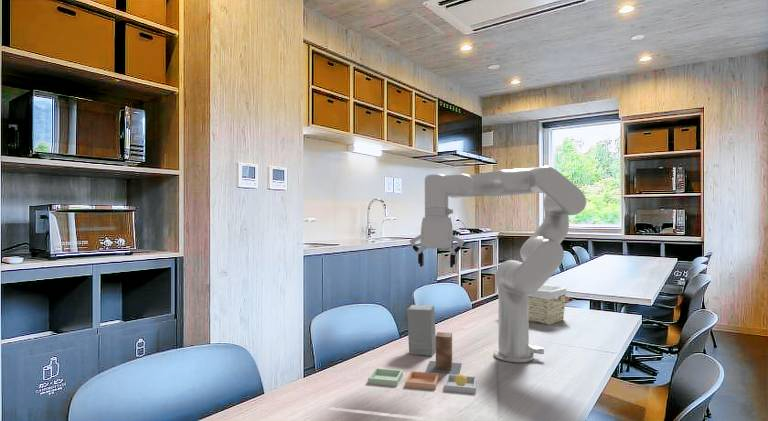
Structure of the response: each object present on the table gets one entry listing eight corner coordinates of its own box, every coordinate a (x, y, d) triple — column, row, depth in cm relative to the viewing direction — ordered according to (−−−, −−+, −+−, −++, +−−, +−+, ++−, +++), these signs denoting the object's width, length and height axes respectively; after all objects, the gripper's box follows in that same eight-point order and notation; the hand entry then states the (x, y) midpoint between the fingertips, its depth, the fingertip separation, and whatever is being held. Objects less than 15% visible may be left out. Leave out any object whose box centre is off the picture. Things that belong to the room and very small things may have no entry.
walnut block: (452, 365, 137) (452, 333, 137) (450, 370, 132) (450, 337, 132) (437, 364, 138) (437, 332, 138) (435, 369, 133) (435, 336, 133)
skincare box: (436, 351, 153) (436, 304, 153) (431, 357, 146) (431, 309, 146) (412, 348, 155) (412, 303, 155) (406, 354, 149) (406, 307, 149)
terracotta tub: (439, 380, 126) (439, 373, 126) (435, 391, 118) (435, 384, 118) (410, 377, 128) (410, 370, 128) (405, 389, 120) (405, 381, 120)
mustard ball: (467, 384, 122) (467, 372, 122) (466, 388, 119) (466, 376, 119) (455, 383, 123) (455, 371, 123) (454, 387, 120) (454, 375, 120)
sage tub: (402, 377, 129) (402, 370, 129) (396, 388, 121) (396, 380, 121) (375, 374, 131) (375, 367, 131) (367, 385, 123) (367, 378, 123)
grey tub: (476, 383, 124) (476, 376, 124) (475, 395, 116) (475, 388, 116) (447, 381, 126) (447, 374, 126) (444, 392, 118) (444, 385, 118)
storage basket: (568, 320, 195) (568, 286, 195) (550, 326, 184) (550, 291, 184) (519, 311, 213) (519, 280, 212) (500, 316, 202) (500, 284, 202)
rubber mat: (461, 365, 139) (461, 363, 139) (459, 376, 129) (459, 374, 129) (429, 362, 141) (429, 360, 141) (425, 374, 131) (425, 372, 131)
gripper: (464, 213, 144) (464, 265, 144) (411, 213, 148) (412, 264, 148) (463, 213, 137) (463, 268, 137) (407, 213, 141) (407, 267, 141)
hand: (436, 266), depth 142 cm, fingers open, 9 cm apart
